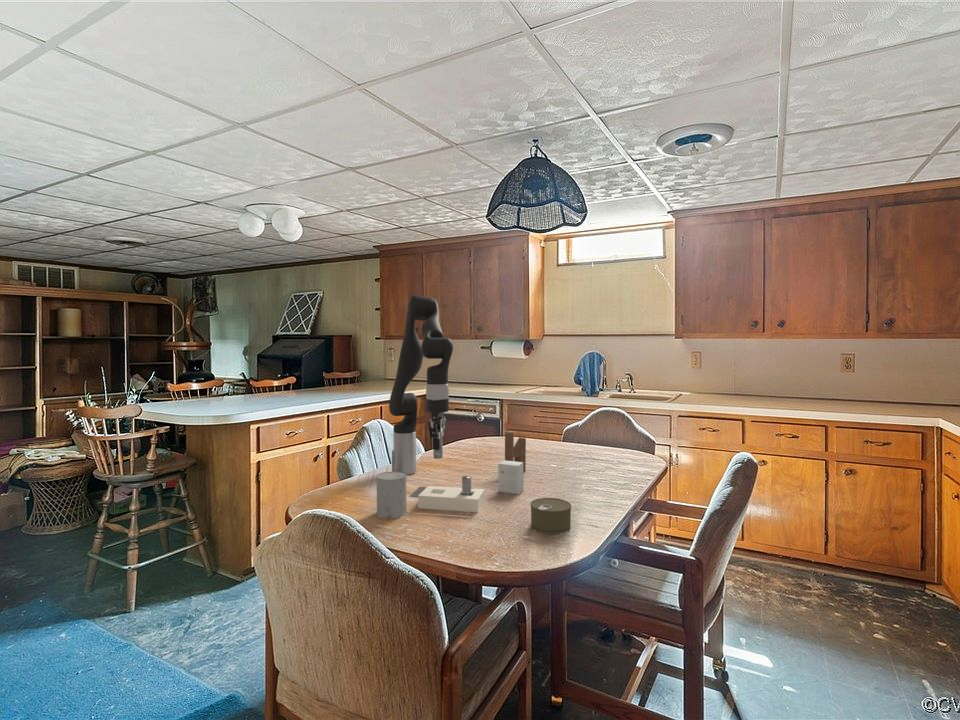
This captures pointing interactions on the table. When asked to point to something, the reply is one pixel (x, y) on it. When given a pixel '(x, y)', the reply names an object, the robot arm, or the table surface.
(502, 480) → the small box
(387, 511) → the grey concrete cylinder
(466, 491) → the seated pin
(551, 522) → the can
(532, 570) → the table surface
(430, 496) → the bore block
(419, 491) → the mat
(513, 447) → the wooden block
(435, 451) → the steel pin
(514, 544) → the table surface
